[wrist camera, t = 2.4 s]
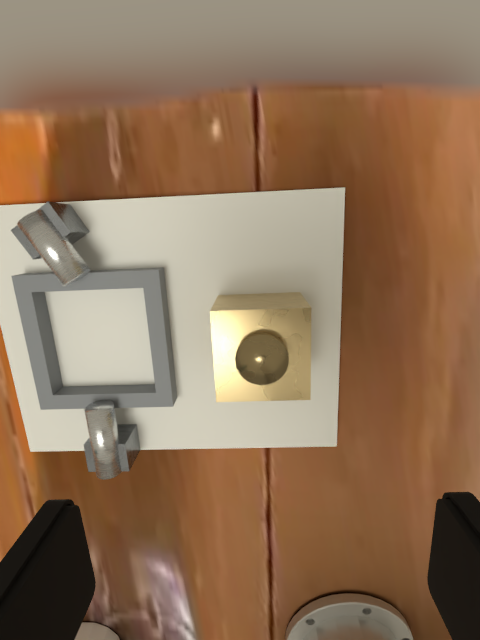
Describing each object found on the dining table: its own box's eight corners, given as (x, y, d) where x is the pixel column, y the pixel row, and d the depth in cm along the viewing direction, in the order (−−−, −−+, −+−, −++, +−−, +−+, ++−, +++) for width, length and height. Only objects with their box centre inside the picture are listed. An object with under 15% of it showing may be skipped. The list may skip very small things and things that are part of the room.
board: (341, 189, 24) (351, 184, 22) (334, 439, 29) (341, 458, 27) (-17, 207, 25) (-46, 205, 23) (37, 444, 30) (18, 463, 28)
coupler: (300, 291, 25) (313, 310, 20) (300, 368, 26) (312, 404, 21) (218, 295, 25) (208, 313, 20) (222, 370, 27) (215, 407, 21)
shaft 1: (111, 261, 25) (88, 266, 21) (77, 284, 25) (50, 293, 22) (70, 204, 24) (40, 200, 21) (36, 229, 24) (1, 230, 21)
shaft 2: (93, 391, 28) (71, 414, 24) (132, 390, 28) (115, 413, 24) (103, 450, 29) (83, 479, 26) (140, 449, 29) (125, 479, 26)
